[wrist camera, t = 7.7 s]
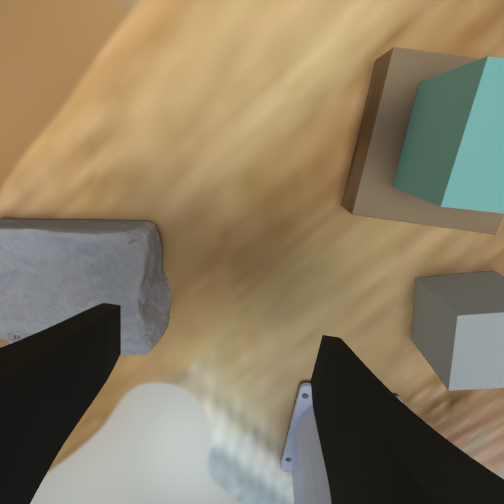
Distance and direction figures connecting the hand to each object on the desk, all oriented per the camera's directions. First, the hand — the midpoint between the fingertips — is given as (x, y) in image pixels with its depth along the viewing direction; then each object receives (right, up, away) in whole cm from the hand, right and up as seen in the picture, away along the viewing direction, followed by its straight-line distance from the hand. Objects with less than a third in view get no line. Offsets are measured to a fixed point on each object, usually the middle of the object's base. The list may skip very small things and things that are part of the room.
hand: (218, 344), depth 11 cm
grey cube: (+15, -1, +11) cm, 18 cm away
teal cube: (+11, +9, +5) cm, 15 cm away
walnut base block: (+11, +10, +8) cm, 17 cm away
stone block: (-10, +1, +12) cm, 16 cm away
